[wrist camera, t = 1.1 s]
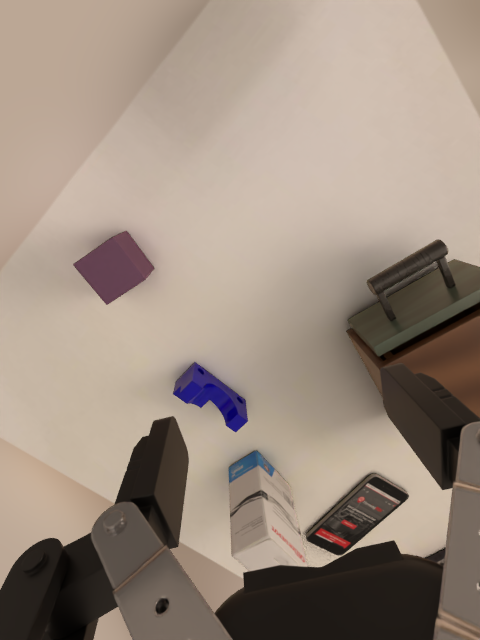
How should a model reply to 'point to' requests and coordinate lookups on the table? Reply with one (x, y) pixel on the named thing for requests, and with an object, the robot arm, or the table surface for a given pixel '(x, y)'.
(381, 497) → the smartphone
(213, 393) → the cable holder
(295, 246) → the table surface
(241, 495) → the ink box
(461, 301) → the drawer
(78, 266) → the block
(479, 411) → the cabinet
